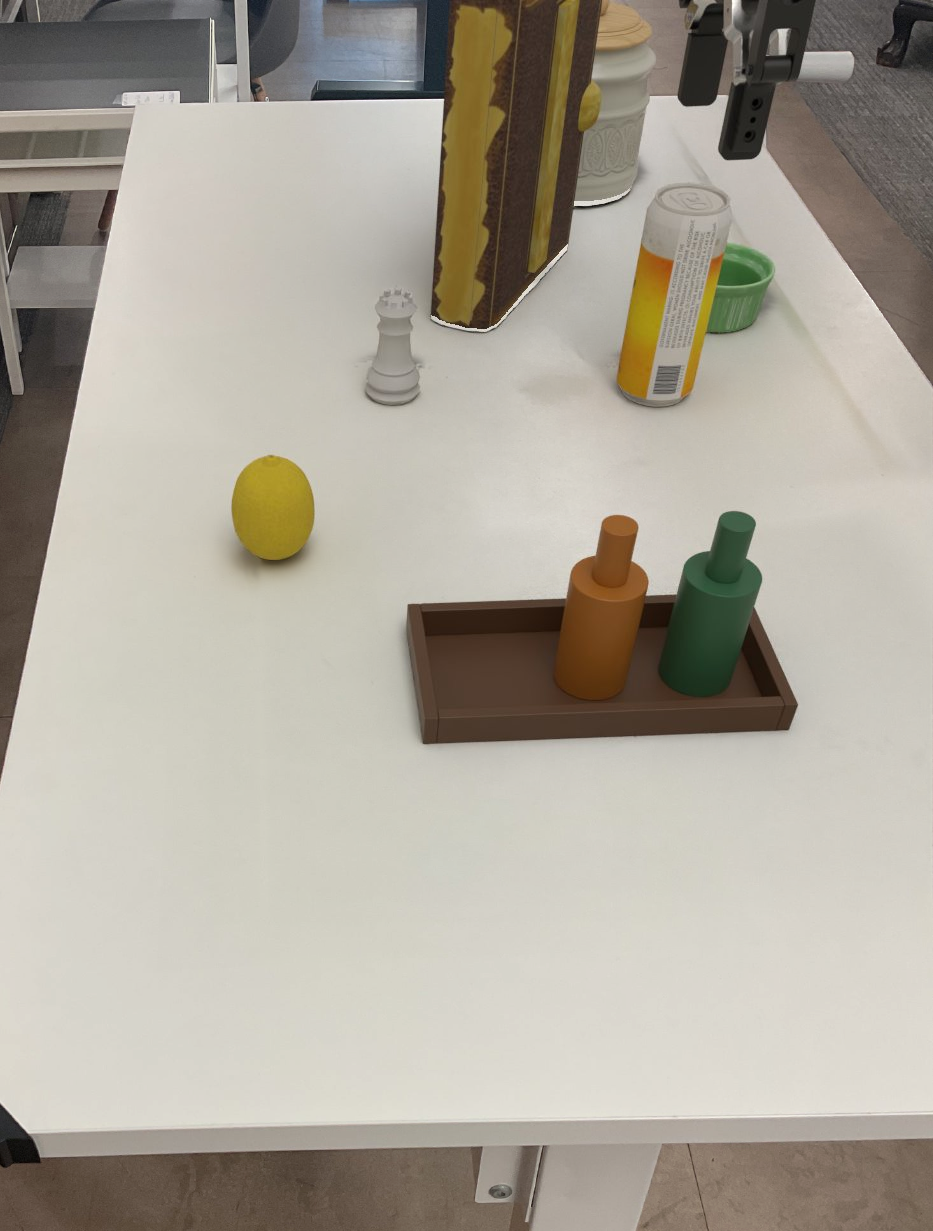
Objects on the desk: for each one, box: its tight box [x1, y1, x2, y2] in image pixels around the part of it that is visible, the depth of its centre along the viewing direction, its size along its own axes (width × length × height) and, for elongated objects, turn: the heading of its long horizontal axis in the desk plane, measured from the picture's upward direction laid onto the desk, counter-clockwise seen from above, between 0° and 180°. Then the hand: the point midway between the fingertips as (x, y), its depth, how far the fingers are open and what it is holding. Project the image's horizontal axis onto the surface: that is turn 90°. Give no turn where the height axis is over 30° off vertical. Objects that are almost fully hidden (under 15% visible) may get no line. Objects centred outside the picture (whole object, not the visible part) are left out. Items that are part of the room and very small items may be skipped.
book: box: [430, 0, 602, 329], centre depth 106 cm, size 22×8×25 cm, turn 152°
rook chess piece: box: [364, 287, 421, 406], centre depth 98 cm, size 4×4×8 cm
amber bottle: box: [554, 514, 650, 701], centre depth 73 cm, size 4×4×11 cm
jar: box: [574, 0, 657, 201], centre depth 123 cm, size 13×13×18 cm
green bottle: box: [658, 510, 763, 697], centre depth 73 cm, size 4×4×11 cm
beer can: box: [616, 182, 733, 408], centre depth 95 cm, size 6×6×15 cm
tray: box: [405, 593, 799, 745], centre depth 76 cm, size 22×11×3 cm, turn 93°
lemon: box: [230, 454, 316, 561], centre depth 83 cm, size 6×6×8 cm
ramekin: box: [706, 241, 776, 334], centre depth 108 cm, size 9×9×4 cm
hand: (715, 129), depth 72 cm, fingers open, 8 cm apart
